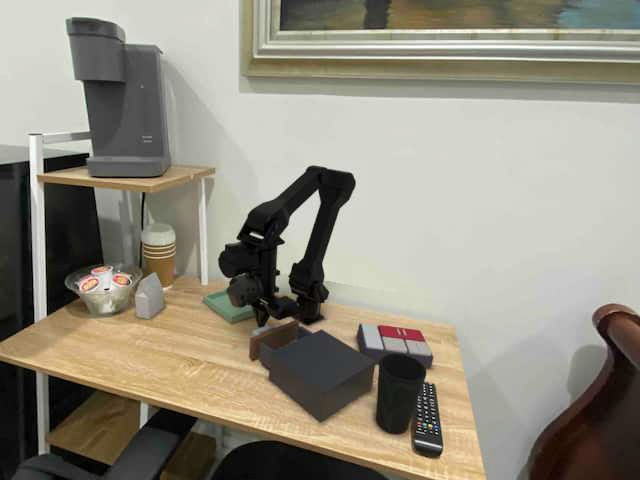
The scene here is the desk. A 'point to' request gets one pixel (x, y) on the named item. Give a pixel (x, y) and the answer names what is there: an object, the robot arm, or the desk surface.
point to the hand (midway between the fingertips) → (260, 327)
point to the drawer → (274, 339)
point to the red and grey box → (393, 343)
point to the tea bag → (149, 297)
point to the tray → (227, 307)
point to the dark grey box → (321, 373)
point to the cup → (398, 391)
